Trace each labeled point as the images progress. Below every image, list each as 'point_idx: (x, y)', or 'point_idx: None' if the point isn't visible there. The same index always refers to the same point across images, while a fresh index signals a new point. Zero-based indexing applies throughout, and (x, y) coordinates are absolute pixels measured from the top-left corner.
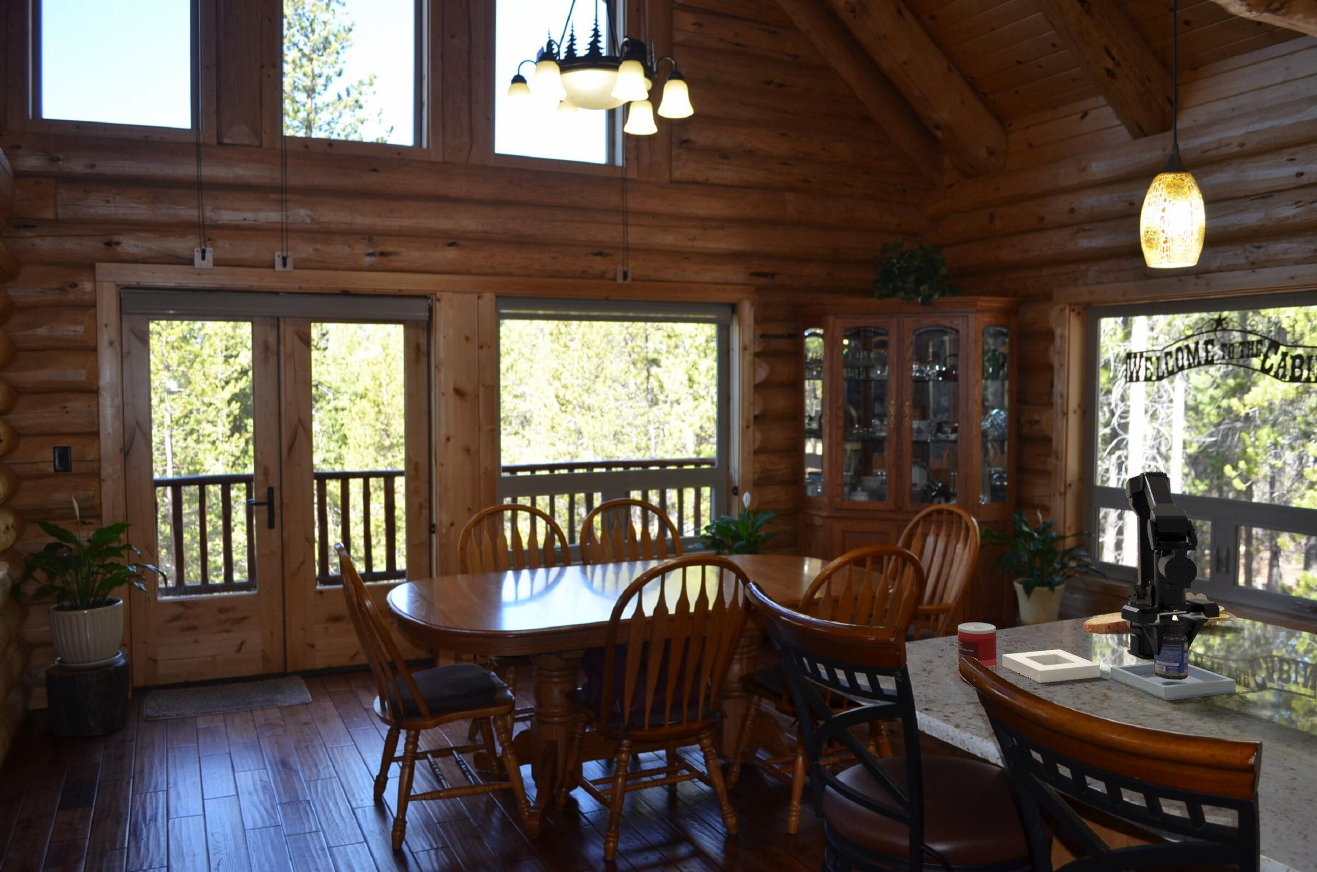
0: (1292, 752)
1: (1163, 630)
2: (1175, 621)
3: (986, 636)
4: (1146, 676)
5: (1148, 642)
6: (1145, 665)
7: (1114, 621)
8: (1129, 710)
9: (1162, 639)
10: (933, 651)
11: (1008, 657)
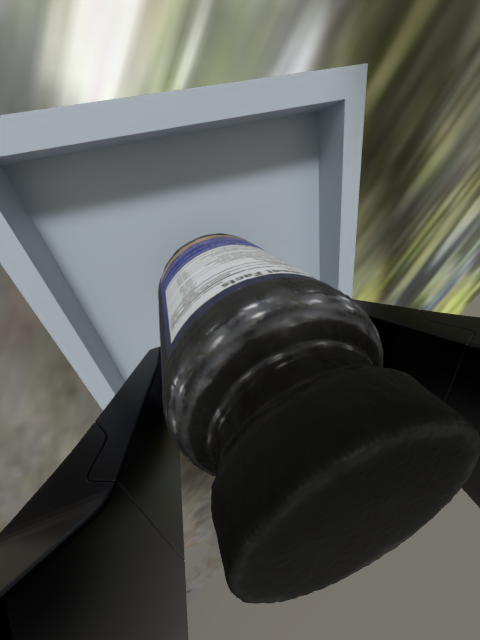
0: (218, 558)
1: (182, 597)
2: (425, 490)
3: None
4: (158, 175)
5: None
6: (168, 129)
7: None
8: (4, 490)
9: (180, 482)
10: None
11: None
